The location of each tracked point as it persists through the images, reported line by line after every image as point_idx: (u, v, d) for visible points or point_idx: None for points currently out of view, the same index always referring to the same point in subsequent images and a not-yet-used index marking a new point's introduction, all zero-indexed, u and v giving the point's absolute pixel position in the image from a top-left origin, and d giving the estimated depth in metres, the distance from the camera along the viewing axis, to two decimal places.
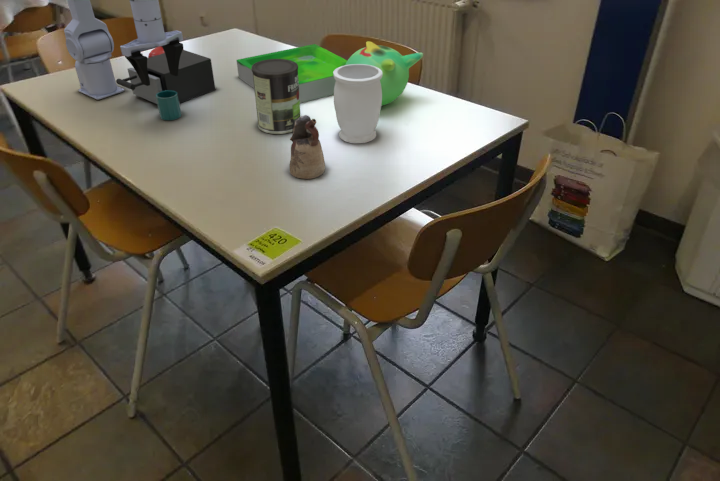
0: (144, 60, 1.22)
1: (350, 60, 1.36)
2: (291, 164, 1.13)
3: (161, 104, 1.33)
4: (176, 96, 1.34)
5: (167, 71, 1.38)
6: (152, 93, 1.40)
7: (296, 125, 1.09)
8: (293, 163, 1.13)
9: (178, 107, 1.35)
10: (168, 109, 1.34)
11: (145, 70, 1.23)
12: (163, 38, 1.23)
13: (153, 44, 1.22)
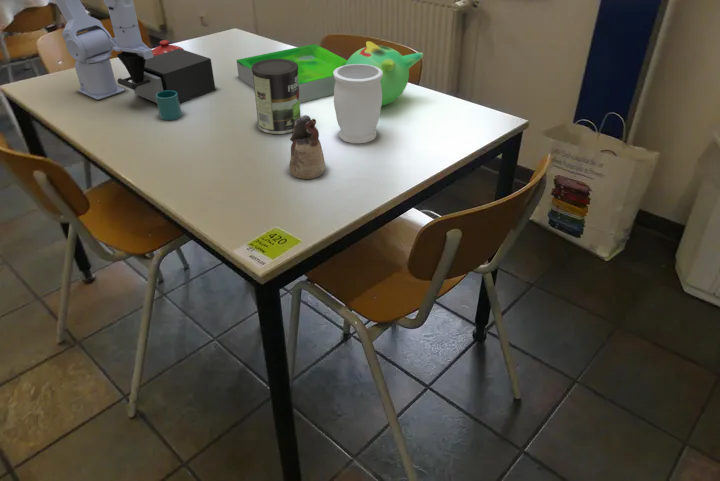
0: (121, 58, 1.35)
1: (350, 60, 1.36)
2: (291, 164, 1.13)
3: (161, 104, 1.33)
4: (176, 96, 1.34)
5: (167, 71, 1.38)
6: (153, 93, 1.40)
7: (296, 125, 1.09)
8: (293, 163, 1.13)
9: (178, 107, 1.35)
10: (168, 109, 1.34)
11: (127, 68, 1.36)
12: (122, 46, 1.31)
13: (116, 46, 1.33)
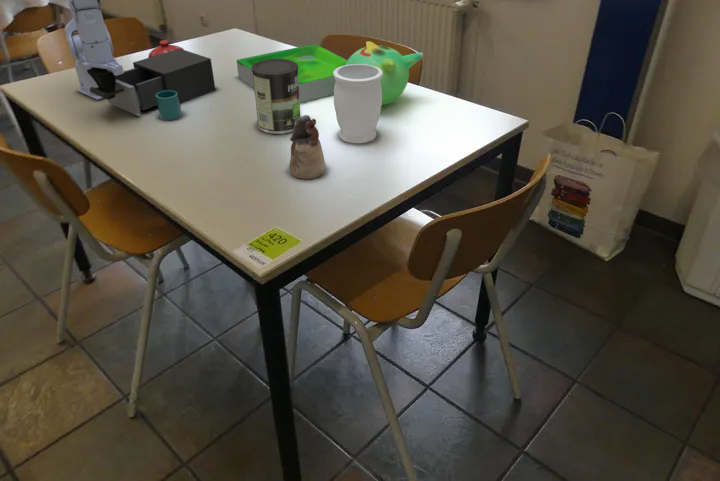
0: (91, 74, 1.30)
1: (350, 60, 1.36)
2: (291, 164, 1.13)
3: (161, 104, 1.33)
4: (176, 96, 1.34)
5: (167, 71, 1.38)
6: (127, 102, 1.36)
7: (296, 125, 1.09)
8: (293, 163, 1.13)
9: (178, 107, 1.35)
10: (168, 109, 1.34)
11: (97, 84, 1.32)
12: (92, 62, 1.27)
13: None
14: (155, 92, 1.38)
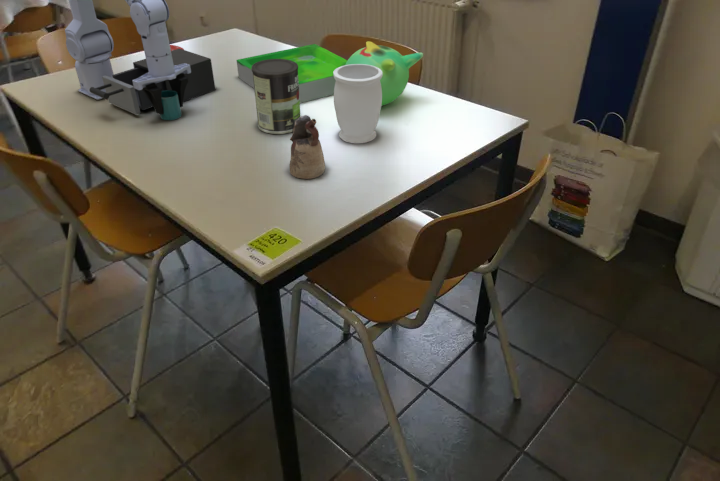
0: (158, 92, 1.29)
1: (350, 60, 1.36)
2: (291, 164, 1.13)
3: None
4: (176, 96, 1.34)
5: None
6: (127, 102, 1.36)
7: (296, 125, 1.09)
8: (293, 163, 1.13)
9: (178, 107, 1.35)
10: (168, 109, 1.34)
11: (159, 100, 1.31)
12: (172, 72, 1.30)
13: (163, 78, 1.29)
14: None
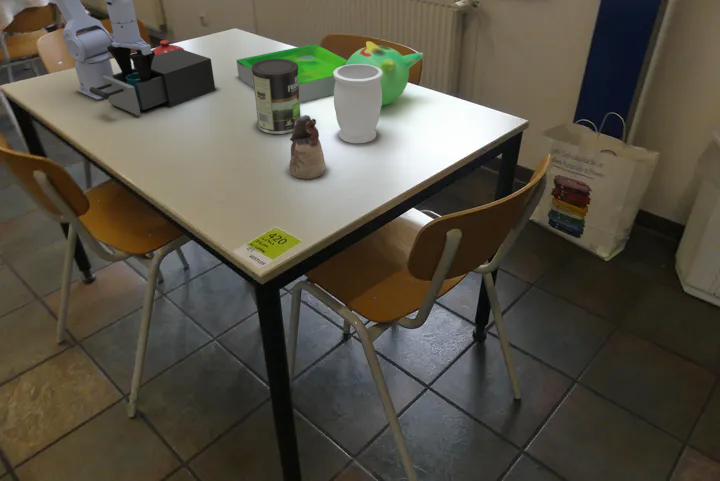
0: (111, 51, 1.36)
1: (350, 60, 1.36)
2: (291, 164, 1.13)
3: None
4: (131, 81, 1.37)
5: (167, 71, 1.38)
6: (127, 102, 1.36)
7: (296, 125, 1.09)
8: (293, 163, 1.13)
9: None
10: None
11: (117, 60, 1.37)
12: (121, 42, 1.31)
13: (114, 42, 1.32)
14: (155, 92, 1.38)
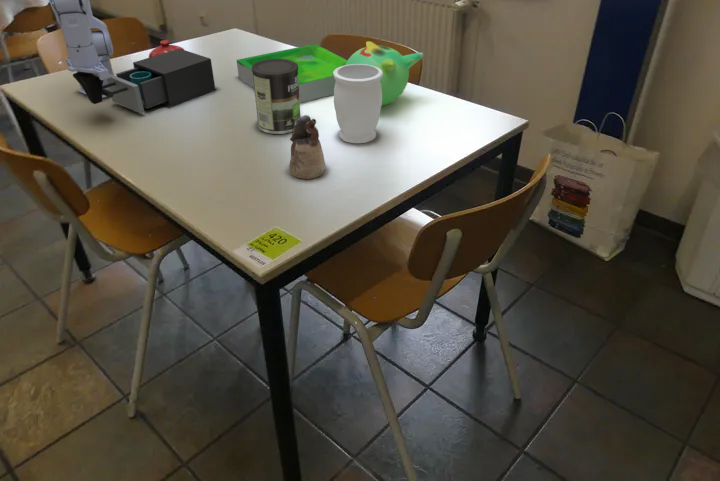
0: (77, 78, 1.28)
1: (350, 60, 1.36)
2: (291, 164, 1.13)
3: None
4: (135, 79, 1.37)
5: (167, 71, 1.38)
6: (131, 100, 1.36)
7: (296, 125, 1.09)
8: (293, 163, 1.13)
9: None
10: None
11: (83, 88, 1.30)
12: (77, 66, 1.25)
13: (71, 66, 1.27)
14: (159, 91, 1.39)
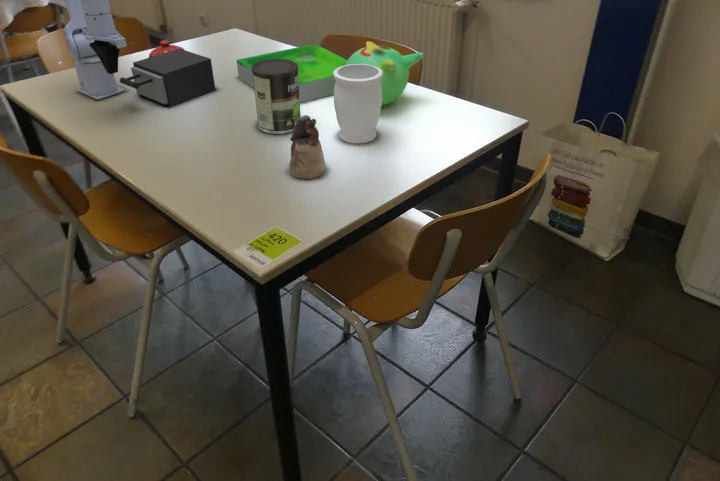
0: (93, 48, 1.28)
1: (350, 60, 1.36)
2: (291, 164, 1.13)
3: None
4: None
5: (167, 71, 1.38)
6: (155, 92, 1.41)
7: (296, 125, 1.09)
8: (293, 163, 1.13)
9: None
10: None
11: (100, 58, 1.30)
12: (94, 35, 1.25)
13: (88, 35, 1.27)
14: None
